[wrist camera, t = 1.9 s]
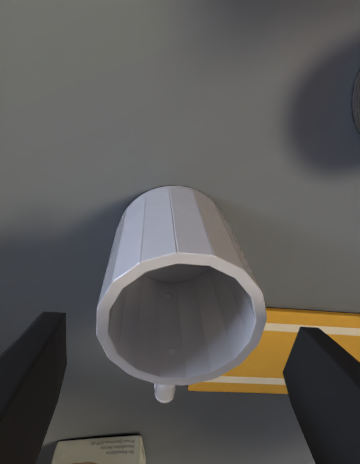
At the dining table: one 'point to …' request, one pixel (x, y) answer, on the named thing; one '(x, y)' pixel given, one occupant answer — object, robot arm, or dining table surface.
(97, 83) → the dining table surface
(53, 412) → the robot arm
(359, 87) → the tin can
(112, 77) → the dining table surface
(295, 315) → the tea towel
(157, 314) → the white mug
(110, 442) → the cosmetic box
